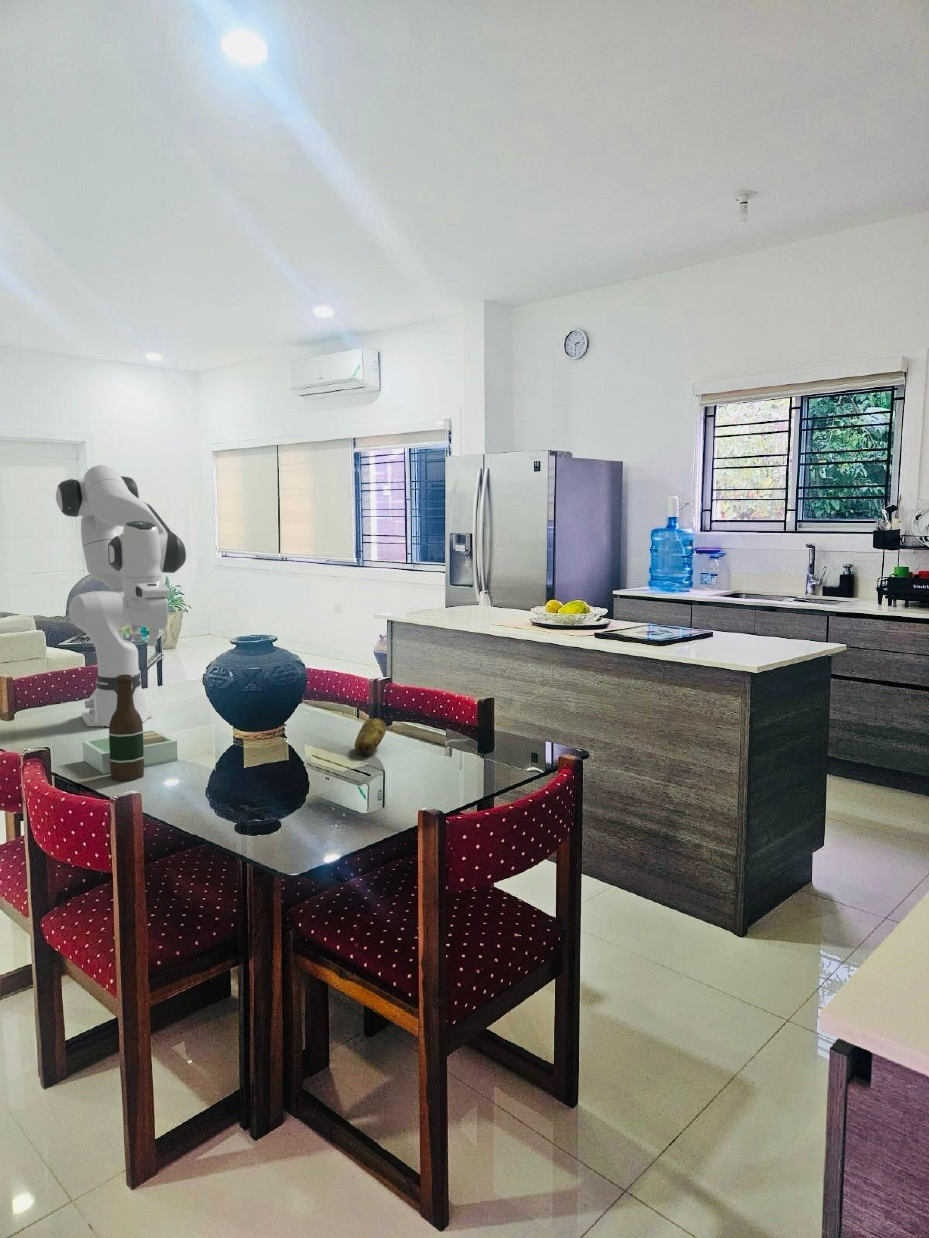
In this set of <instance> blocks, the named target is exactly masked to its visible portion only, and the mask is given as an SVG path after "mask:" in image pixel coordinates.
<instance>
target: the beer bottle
mask: <svg viewBox="0 0 929 1238" xmlns="http://www.w3.org/2000/svg"><path fill="white" fill-rule="evenodd" d="M132 680H133V678H132V675H119V676H117V679H116V681H117V707H116V711H115V712H114V714H113V715H112V718H111V721H110V725H109V727H108V737H109V747H110V772H111V773H110V779H111V780H112V781H116V782H127V781H128V782H129V781H130V780H131V781H136V780H138V778H139V779H141V778H143V777H144V775H145V774H144V773H145V767H144V747H143V732H144V726H143V722H142V719H141V717H140V714H139V713H138V712H137V711H136V709H135V707H134V702H133V692H132V682H131V681H132Z"/></svg>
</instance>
